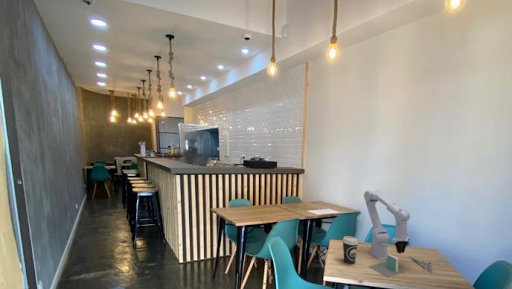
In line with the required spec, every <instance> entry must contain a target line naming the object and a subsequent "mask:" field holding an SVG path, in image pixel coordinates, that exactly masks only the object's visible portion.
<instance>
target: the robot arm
mask: <svg viewBox="0 0 512 289" xmlns="http://www.w3.org/2000/svg"><path fill="white" fill-rule="evenodd" d="M363 198H364V200H365V206H366V208H367V212H368V215H369V217H370V220H371V224H372V227H373V230H372V231H371V235H372V238H371V239H372V241H371V243H370V252H369V254H370V255H372V256H373V257H376V258H378V259H380V260H383V261H384V260H387V254H388V253H387V252H388V245H389V243H390V241H391V243H393V244H394V246H395V248H396V253H398V254H399V255H401V254H404V253H405V252H406V251H405V250H406V248H407V246H408V244H409V241H410V240H411V236H409V235H408V232H407V231H408V221H409V220H410V219H411V215H410V213H409V212H408V211H407V210H405V209H404V210H403V209H402V208H401V207H399V206H398V205H397V204H396V203H395V202H391V201H389V200H388V199H387V197H385V196H384V195H383V194H382V192H381V191H379V190H377V189H376V190H365V191H364V194H363ZM378 202H380V203H381V204H382V205H384V206H385V207H386V210H387V211H388V212H389V213H391V214H392V215H393V216H394V221H395V225H396V226H395V236H394V237H393V238H391V236H390V234H389V233H388V230H386V229H385V228H384V227H383V225H382V221H381V219H380V217H379V213H378V210H377V207H376V204H377V203H378Z"/></svg>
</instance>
